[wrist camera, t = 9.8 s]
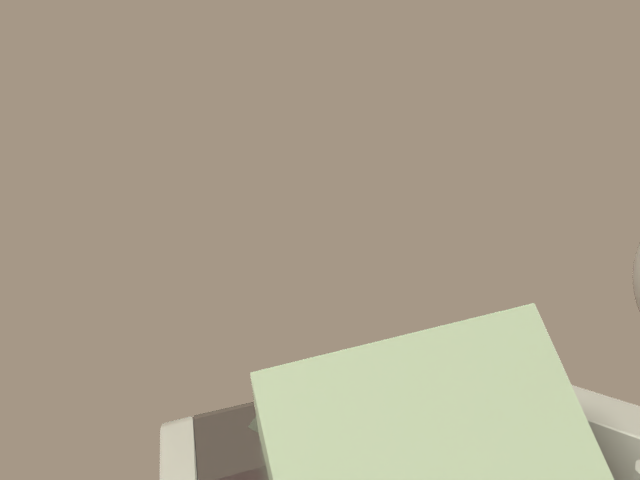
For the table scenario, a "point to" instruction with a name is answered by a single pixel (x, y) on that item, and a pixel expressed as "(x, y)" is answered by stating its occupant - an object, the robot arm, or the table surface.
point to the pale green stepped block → (430, 408)
